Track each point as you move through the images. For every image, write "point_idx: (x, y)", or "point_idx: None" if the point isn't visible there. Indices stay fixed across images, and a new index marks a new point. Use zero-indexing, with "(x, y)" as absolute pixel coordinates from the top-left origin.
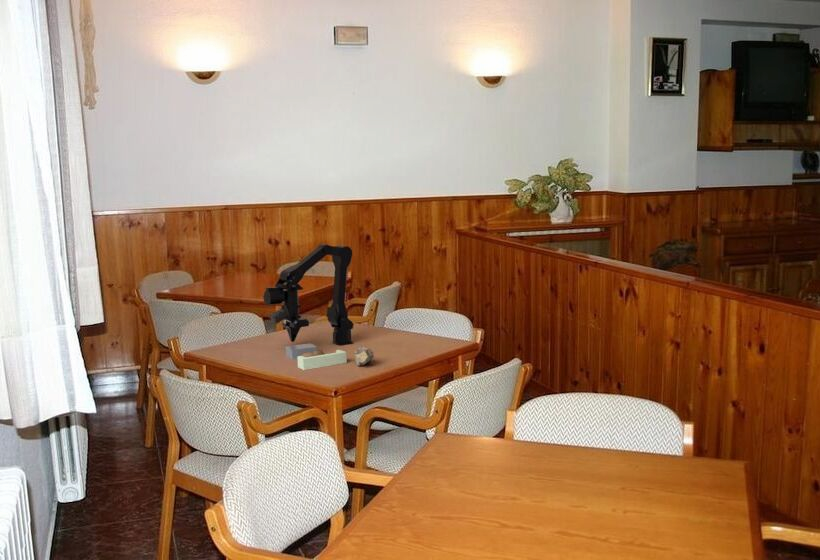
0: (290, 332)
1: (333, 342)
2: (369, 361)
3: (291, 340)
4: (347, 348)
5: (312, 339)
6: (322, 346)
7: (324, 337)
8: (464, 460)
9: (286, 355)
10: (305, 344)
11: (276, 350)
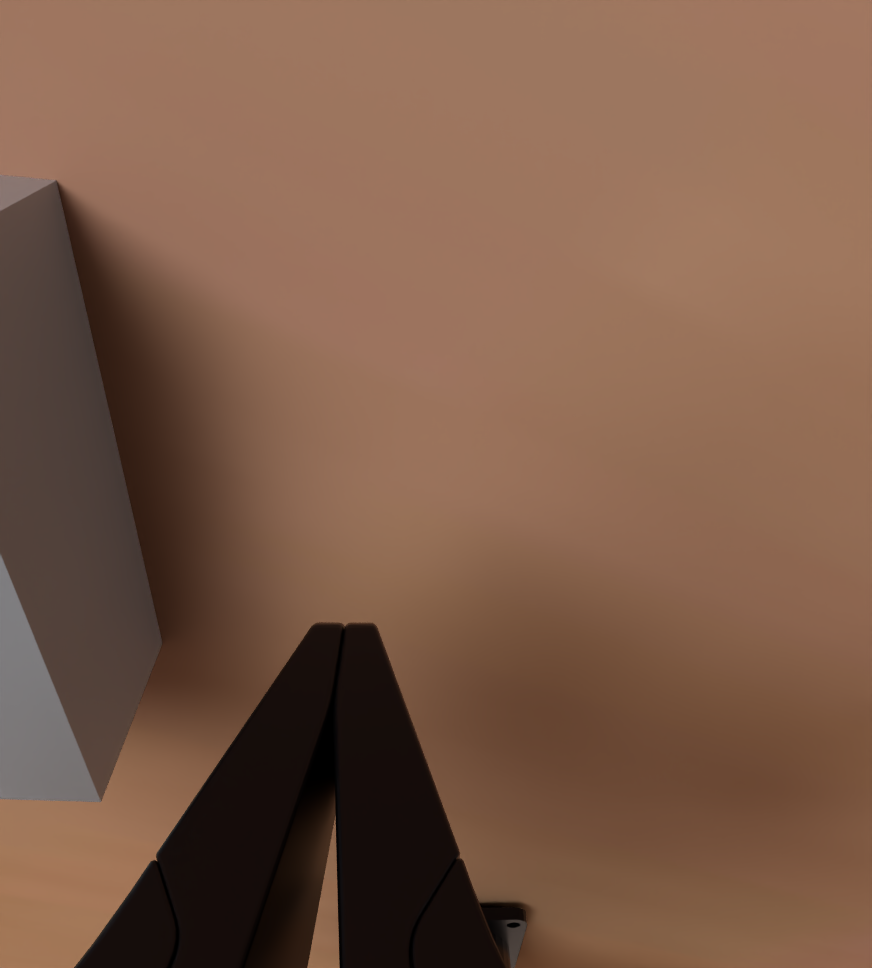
0: (117, 963)
1: (488, 914)
2: None
3: (299, 653)
4: None
5: (854, 856)
6: None
7: (804, 922)
8: None
9: (5, 182)
10: (14, 730)
11: (798, 260)
